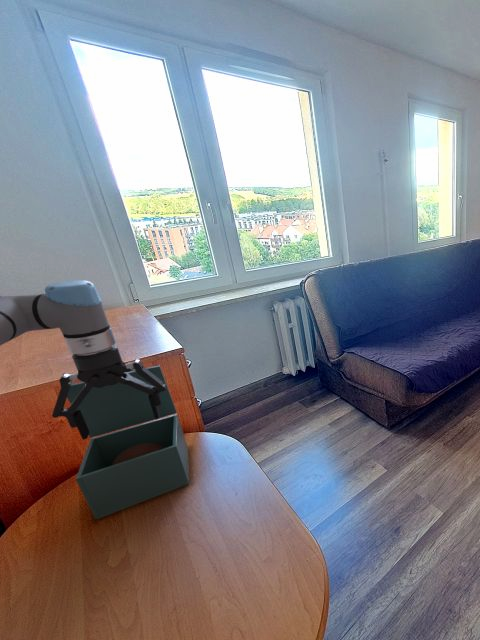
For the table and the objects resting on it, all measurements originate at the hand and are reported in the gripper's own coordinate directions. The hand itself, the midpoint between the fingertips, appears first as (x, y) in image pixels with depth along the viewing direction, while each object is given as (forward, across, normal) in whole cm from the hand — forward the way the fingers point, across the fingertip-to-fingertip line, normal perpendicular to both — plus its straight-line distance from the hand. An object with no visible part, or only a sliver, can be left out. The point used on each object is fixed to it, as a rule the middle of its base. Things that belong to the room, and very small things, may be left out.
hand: (123, 425), depth 83 cm
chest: (+19, 0, +1) cm, 19 cm away
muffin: (+18, 0, 0) cm, 18 cm away
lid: (-3, 0, +7) cm, 8 cm away
